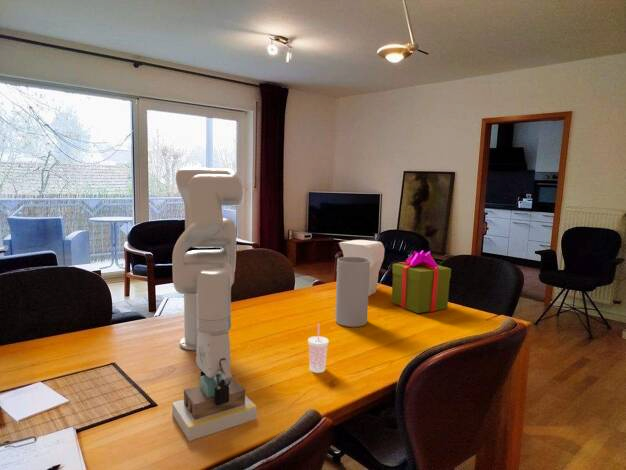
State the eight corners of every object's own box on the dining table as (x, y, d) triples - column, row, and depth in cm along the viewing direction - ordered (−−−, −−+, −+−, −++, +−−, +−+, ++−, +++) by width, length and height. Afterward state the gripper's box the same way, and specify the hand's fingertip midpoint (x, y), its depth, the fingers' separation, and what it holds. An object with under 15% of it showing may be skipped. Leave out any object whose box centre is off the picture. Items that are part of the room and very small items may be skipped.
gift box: (414, 297, 205) (417, 245, 202) (452, 308, 189) (456, 252, 186) (385, 304, 192) (388, 249, 189) (424, 317, 176) (428, 257, 173)
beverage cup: (320, 375, 122) (322, 328, 120) (303, 370, 125) (304, 324, 123) (331, 367, 127) (333, 322, 125) (314, 362, 130) (315, 318, 128)
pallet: (232, 390, 106) (232, 377, 105) (245, 404, 100) (245, 390, 99) (183, 404, 99) (183, 389, 99) (194, 419, 93) (194, 404, 92)
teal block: (220, 383, 102) (220, 371, 102) (228, 392, 98) (228, 379, 98) (200, 388, 99) (200, 376, 99) (207, 398, 95) (207, 385, 95)
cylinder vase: (330, 324, 164) (332, 261, 161) (340, 315, 176) (343, 255, 172) (362, 329, 159) (365, 264, 156) (370, 319, 171) (373, 258, 168)
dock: (235, 396, 109) (235, 384, 109) (256, 418, 99) (256, 406, 99) (172, 414, 100) (172, 402, 100) (189, 441, 90) (188, 427, 90)
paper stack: (329, 293, 209) (331, 241, 205) (364, 284, 227) (366, 236, 224) (363, 303, 194) (366, 247, 190) (397, 292, 213) (400, 242, 209)
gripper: (185, 314, 102) (186, 383, 104) (212, 338, 87) (212, 417, 90) (215, 309, 106) (215, 375, 108) (245, 331, 92) (245, 407, 94)
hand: (214, 394), depth 99 cm, fingers open, 8 cm apart
